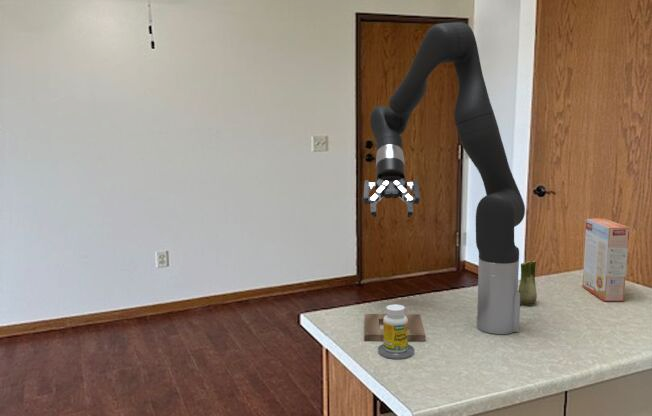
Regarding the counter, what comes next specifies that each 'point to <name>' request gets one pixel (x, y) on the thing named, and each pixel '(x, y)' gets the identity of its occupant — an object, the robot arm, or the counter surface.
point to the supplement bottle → (395, 329)
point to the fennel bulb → (527, 283)
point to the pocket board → (377, 334)
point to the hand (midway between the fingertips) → (392, 215)
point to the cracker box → (605, 259)
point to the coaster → (403, 355)
